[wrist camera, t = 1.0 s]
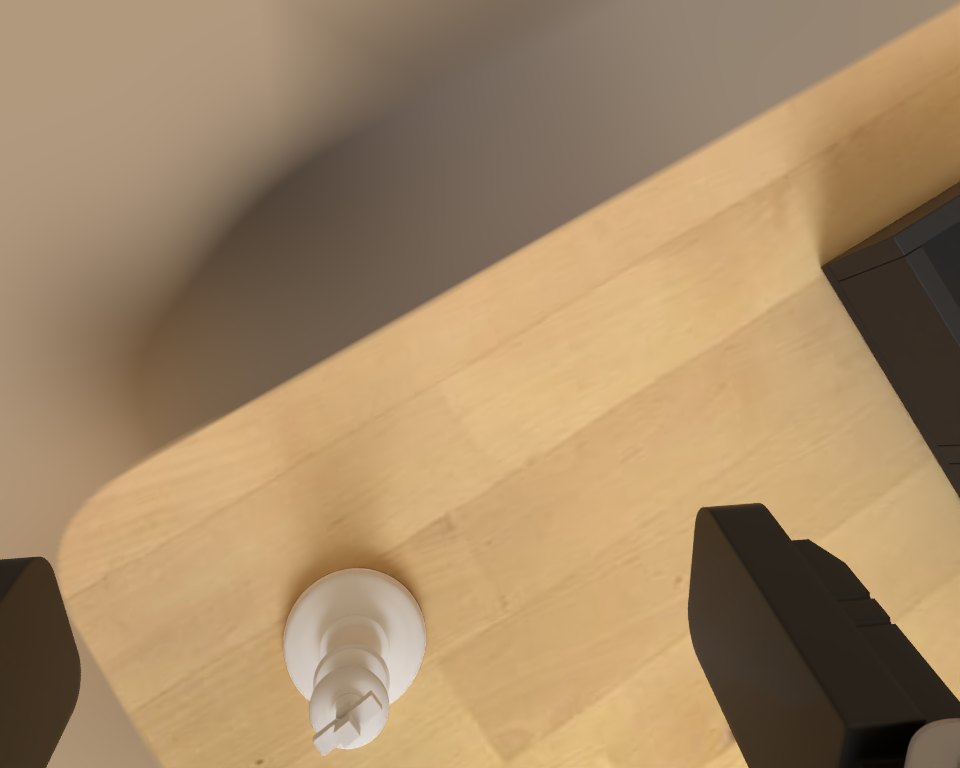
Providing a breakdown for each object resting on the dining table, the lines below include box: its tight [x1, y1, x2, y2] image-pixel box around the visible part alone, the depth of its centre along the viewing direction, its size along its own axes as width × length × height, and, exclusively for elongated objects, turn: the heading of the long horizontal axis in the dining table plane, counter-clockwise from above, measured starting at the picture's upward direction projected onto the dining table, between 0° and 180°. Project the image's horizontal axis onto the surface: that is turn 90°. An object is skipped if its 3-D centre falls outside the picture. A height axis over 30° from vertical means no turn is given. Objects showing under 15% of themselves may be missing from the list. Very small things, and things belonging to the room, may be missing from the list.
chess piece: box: [283, 568, 426, 757], centre depth 23 cm, size 5×5×10 cm
